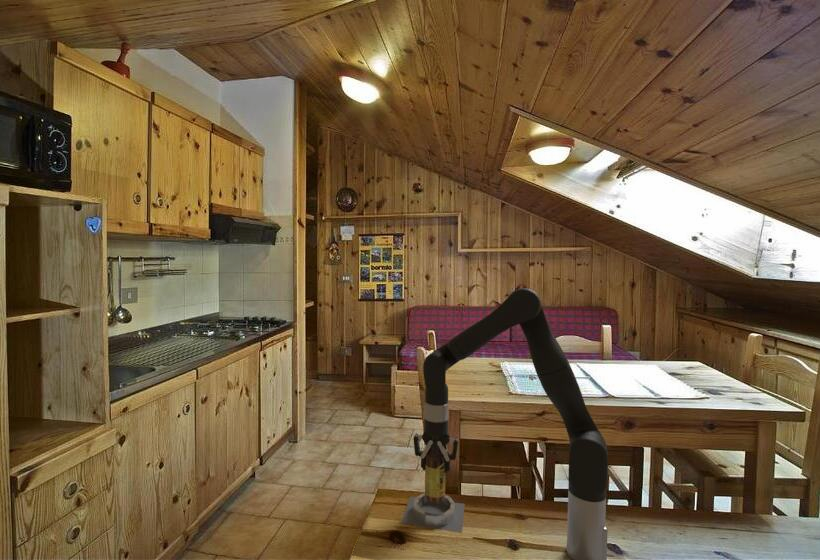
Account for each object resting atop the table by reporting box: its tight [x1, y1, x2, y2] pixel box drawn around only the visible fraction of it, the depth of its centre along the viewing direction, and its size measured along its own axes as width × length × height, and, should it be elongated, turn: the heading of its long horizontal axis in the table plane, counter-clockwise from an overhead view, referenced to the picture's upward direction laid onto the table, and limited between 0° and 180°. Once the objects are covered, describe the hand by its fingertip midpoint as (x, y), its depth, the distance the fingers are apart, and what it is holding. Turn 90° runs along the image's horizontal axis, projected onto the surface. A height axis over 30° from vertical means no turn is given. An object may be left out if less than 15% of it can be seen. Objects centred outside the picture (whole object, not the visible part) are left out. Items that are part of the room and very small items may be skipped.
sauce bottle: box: [424, 436, 446, 503], centre depth 120 cm, size 6×6×20 cm
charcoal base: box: [400, 496, 466, 534], centre depth 120 cm, size 18×14×1 cm
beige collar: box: [413, 492, 456, 527], centre depth 120 cm, size 12×12×3 cm
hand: (435, 470), depth 120 cm, fingers closed on sauce bottle, 6 cm apart
